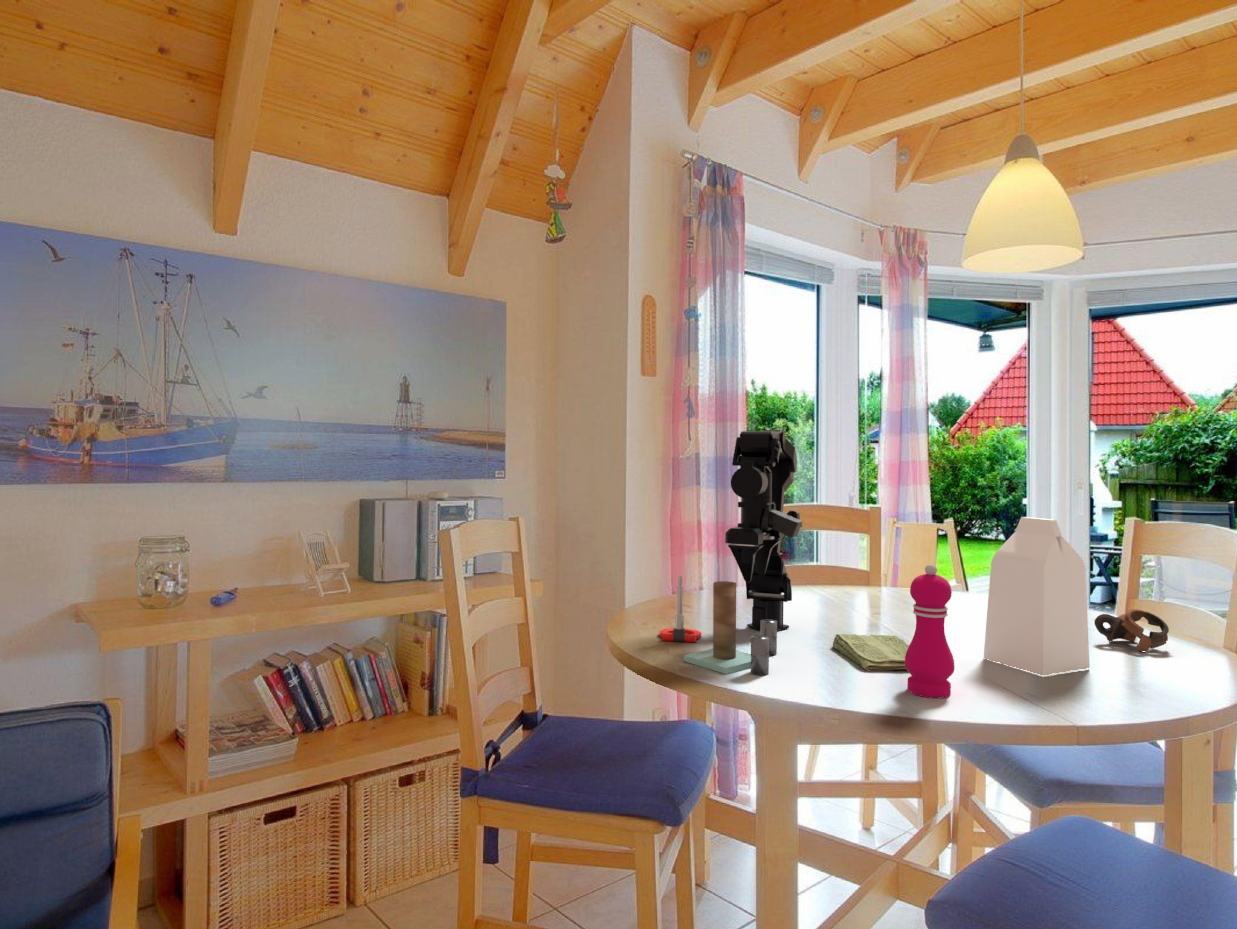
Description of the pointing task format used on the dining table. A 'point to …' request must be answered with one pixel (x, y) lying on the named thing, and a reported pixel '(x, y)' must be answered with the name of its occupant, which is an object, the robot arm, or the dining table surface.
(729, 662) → the teal pad
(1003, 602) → the milk
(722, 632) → the walnut dowel
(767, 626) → the post farther from pad
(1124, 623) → the brown ring bracket
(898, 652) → the washcloth
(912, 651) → the pepper mill
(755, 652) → the post near pad
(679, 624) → the tow hook
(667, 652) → the dining table surface
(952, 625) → the dining table surface
